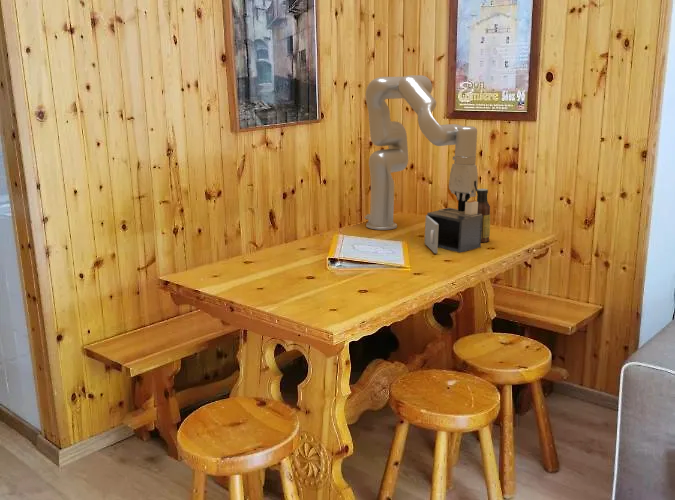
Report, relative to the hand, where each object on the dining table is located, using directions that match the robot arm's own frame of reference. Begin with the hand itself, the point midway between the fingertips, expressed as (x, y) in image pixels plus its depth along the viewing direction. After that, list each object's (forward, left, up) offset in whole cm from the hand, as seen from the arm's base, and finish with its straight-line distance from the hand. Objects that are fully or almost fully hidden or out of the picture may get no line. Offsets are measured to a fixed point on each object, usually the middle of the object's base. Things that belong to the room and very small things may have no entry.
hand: (462, 210), depth 262 cm
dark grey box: (-1, -3, -13) cm, 13 cm away
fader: (+4, 0, -1) cm, 4 cm away
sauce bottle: (+1, +11, -13) cm, 17 cm away
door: (-3, -14, -13) cm, 19 cm away
